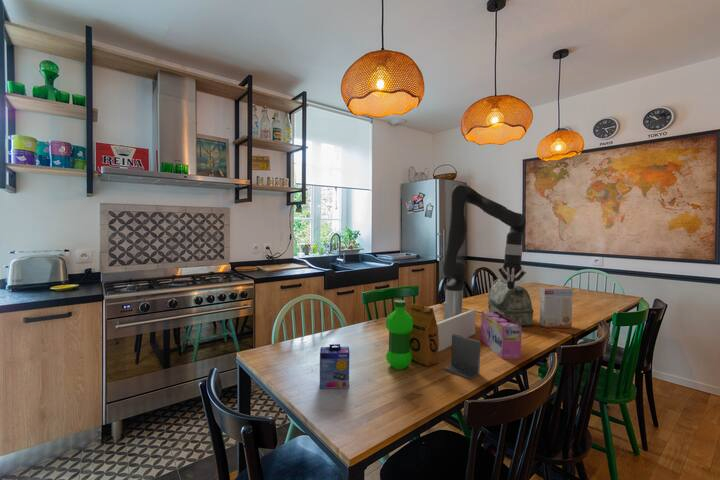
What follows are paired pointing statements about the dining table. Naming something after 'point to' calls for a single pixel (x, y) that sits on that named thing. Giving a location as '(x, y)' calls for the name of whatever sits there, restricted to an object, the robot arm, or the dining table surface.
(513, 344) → the gum box
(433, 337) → the coffee package
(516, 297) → the lunch bag
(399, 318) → the plastic bottle
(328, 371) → the ink cartridge box
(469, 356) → the bookend
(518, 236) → the robot arm
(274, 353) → the dining table surface
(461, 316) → the shelf wall
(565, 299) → the cracker box
